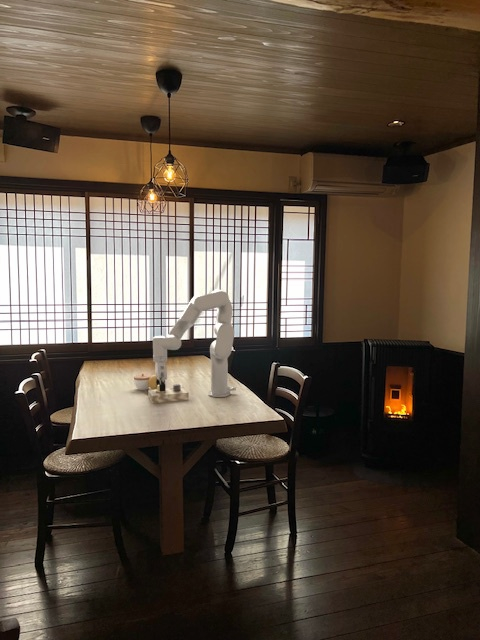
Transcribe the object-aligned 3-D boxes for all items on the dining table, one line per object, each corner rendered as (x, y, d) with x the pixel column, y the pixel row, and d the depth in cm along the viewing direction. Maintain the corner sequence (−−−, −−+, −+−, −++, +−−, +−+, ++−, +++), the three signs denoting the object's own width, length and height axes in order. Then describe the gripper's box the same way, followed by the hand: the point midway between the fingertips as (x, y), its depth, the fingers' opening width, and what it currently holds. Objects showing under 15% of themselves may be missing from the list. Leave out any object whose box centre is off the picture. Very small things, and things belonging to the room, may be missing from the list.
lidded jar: (130, 390, 280) (130, 375, 279) (138, 386, 290) (138, 371, 289) (147, 391, 277) (147, 376, 276) (155, 387, 288) (154, 372, 287)
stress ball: (146, 393, 277) (152, 385, 270) (145, 378, 282) (150, 370, 275) (163, 394, 281) (168, 386, 274) (161, 379, 287) (167, 371, 280)
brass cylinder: (164, 397, 264) (163, 383, 263) (165, 399, 260) (165, 385, 259) (156, 398, 263) (156, 384, 262) (158, 400, 259) (157, 386, 258)
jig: (183, 393, 272) (182, 381, 271) (188, 399, 260) (188, 387, 259) (148, 397, 265) (148, 384, 265) (152, 403, 253) (151, 390, 253)
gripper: (170, 361, 252) (170, 392, 254) (163, 355, 268) (164, 384, 270) (156, 362, 250) (156, 393, 251) (150, 356, 266) (151, 386, 268)
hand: (160, 389), depth 261 cm, fingers open, 9 cm apart
